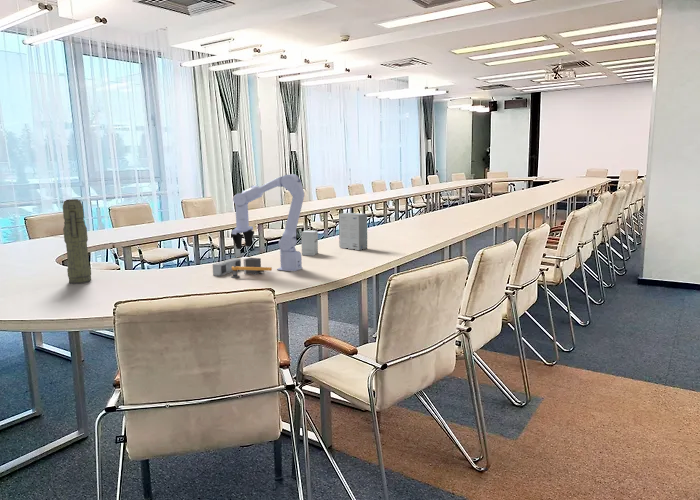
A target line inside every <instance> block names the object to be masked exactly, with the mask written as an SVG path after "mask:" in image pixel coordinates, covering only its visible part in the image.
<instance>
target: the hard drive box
mask: <svg viewBox="0 0 700 500" xmlns="http://www.w3.org/2000/svg"><path fill="white" fill-rule="evenodd" d="M338 235H339V237H338V239H339V244H338V245H339V247H341V248H340V249H345V248H348V249H347V250H353V249H355V250H354V251H362V249H363V250H367V249H368V214H367V213H360V212H359V213H358V212H357V213H356V212H342V213H339V214H338ZM366 248H367V249H366Z"/></svg>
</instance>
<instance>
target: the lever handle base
mask: <svg viewBox="0 0 700 500" xmlns="http://www.w3.org/2000/svg"><path fill="white" fill-rule="evenodd" d="M230 278H232V279H238V278H240V275H239V274H238V270H233V272H232V275H231V276H230Z"/></svg>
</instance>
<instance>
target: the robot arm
mask: <svg viewBox="0 0 700 500" xmlns="http://www.w3.org/2000/svg"><path fill="white" fill-rule="evenodd" d="M277 187H278V188H279V187H280V188H282V187H283V188H284V189H285V190H287V191H288V192H289V193H290V195H291V197H292V198H291V203H290V207H289V211H288V215H287V219H286V220H287V221H286V223H285V227H284V231H283V233H282V236H281V238H280V239H279V240H278V247H279V255H280V267H278V268H276V270H277V271H284V272H285V271H287V272H297V271H300V270H302V269H303V266H302V264H303V262H302V252H300V251H298V250H297V249H296V246H297V228H298V223H299V220H300V215H301V211H302V207H303V202H304V198H305V192H304V187H303V184H302V180H301V179H300V177H299V175H297V174H295V173H290V174H284V175H282V176H278V177H275V178H274V179H272V180H270V181H268V182H265V183H264V184H262V185H260V186H258V185H250V188H248V189H245V190H244V189H243V190H241V192H240V193H239V192H237V193H236V194H234V196H233V199H232V200H233V204H235V206H234V207H235V224H236V225H235V226H236V227H235V228H234V229H232V230H231V234H230V237H231V238H232V239H233V242H234V245H235V248H236V250H242V247H243V246H242V243H243V242H242V241H243V239H244V243H245V244H244V245H245V247H251V244H252V240H253V237H254V234H255V231H254V226H253V225H251V226H250V224H249V223H250V222H249V205H248V204H249V203H251V202H253V201H255V200H257V199H260V198H262V196H263V195H264V194H263V193H267V191H270V190H272V189H274V188H277ZM243 237H244V238H243Z"/></svg>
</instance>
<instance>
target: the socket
mask: <svg viewBox="0 0 700 500" xmlns="http://www.w3.org/2000/svg"><path fill="white" fill-rule="evenodd" d="M241 259H242V258H239V257H232V258H229V259H225V260H222V261H220V262H219V261H218V262H216V263H212V276H217V277H221V276H224V275H228V274H230V273H233V270H232V266H238V267H242V263H241V262H242V260H241Z"/></svg>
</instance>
